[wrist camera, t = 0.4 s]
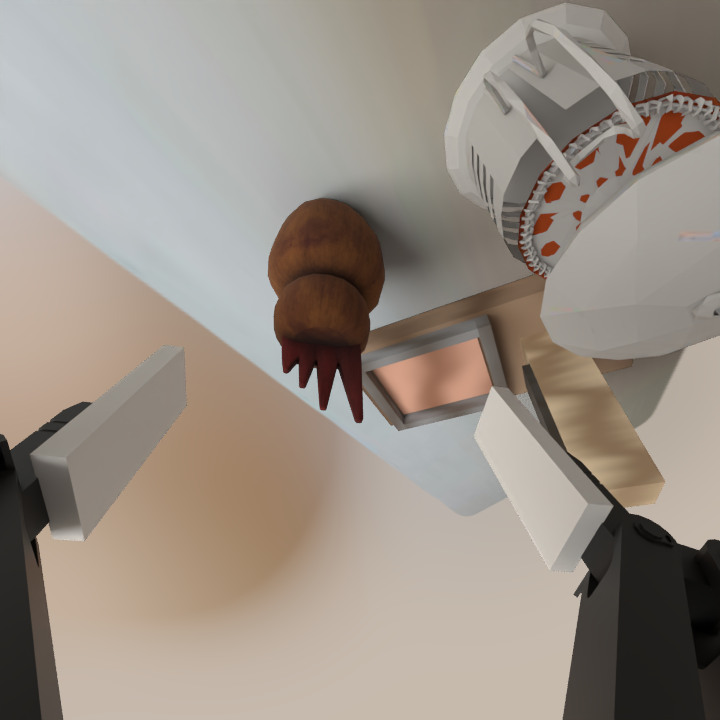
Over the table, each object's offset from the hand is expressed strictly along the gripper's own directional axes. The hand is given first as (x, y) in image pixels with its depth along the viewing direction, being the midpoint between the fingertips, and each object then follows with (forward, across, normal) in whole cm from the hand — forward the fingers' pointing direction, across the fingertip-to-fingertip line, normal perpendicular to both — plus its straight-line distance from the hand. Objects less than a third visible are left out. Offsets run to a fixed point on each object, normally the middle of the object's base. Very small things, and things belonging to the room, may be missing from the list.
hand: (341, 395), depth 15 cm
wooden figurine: (+13, -2, +6) cm, 14 cm away
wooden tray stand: (+17, +14, -3) cm, 22 cm away
